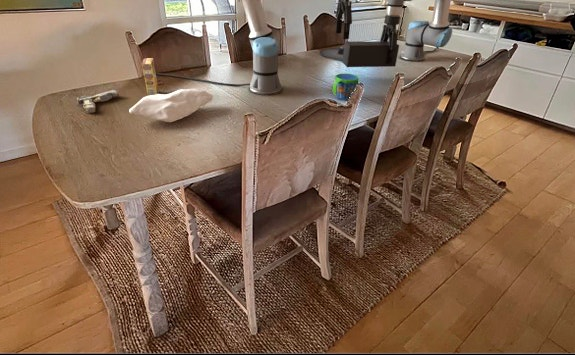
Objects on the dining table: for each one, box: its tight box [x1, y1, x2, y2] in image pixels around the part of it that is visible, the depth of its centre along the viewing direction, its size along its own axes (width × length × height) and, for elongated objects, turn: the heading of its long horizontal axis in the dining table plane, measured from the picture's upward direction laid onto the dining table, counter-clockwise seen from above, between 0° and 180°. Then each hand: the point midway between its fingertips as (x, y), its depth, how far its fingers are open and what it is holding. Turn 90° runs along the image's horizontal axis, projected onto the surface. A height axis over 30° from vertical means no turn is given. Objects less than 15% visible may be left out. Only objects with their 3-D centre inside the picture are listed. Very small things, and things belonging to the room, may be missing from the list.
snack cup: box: [331, 73, 359, 101], centre depth 169 cm, size 16×10×10 cm
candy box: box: [141, 57, 160, 96], centre depth 163 cm, size 9×4×15 cm, turn 13°
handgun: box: [76, 89, 120, 114], centre depth 155 cm, size 3×18×15 cm
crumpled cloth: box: [129, 88, 214, 123], centre depth 147 cm, size 24×35×9 cm
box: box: [341, 40, 400, 68], centre depth 191 cm, size 27×9×11 cm, turn 100°
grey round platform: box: [319, 40, 350, 61], centre depth 239 cm, size 35×35×9 cm
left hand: (342, 36), depth 181 cm, fingers open, 13 cm apart
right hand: (385, 60), depth 194 cm, fingers closed on box, 9 cm apart
